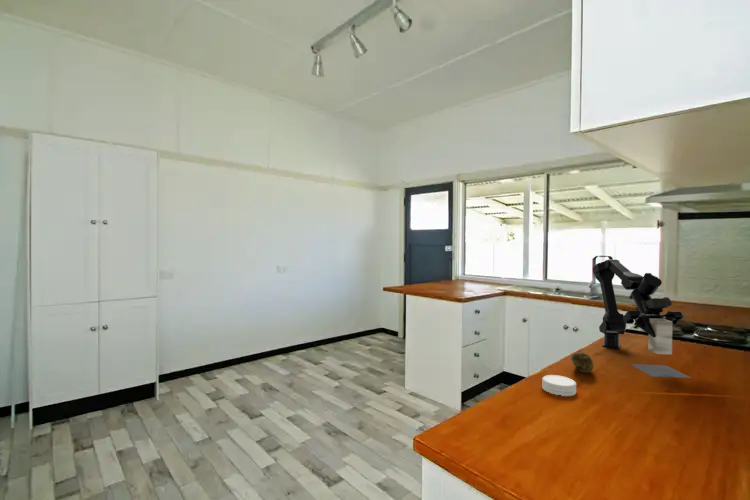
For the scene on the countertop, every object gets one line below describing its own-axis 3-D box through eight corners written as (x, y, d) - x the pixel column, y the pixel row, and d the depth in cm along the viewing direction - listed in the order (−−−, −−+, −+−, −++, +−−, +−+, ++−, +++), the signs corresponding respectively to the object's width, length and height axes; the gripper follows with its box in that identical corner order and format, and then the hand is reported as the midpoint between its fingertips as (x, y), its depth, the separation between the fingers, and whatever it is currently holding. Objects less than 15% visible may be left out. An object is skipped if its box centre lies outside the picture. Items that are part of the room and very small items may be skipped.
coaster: (580, 390, 118) (580, 380, 118) (570, 400, 111) (570, 388, 111) (548, 382, 125) (548, 372, 125) (537, 390, 118) (537, 379, 118)
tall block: (648, 349, 136) (648, 318, 136) (662, 350, 135) (663, 318, 135) (657, 353, 131) (657, 321, 131) (671, 354, 130) (672, 321, 130)
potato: (600, 370, 135) (600, 349, 135) (589, 379, 126) (589, 357, 126) (576, 365, 141) (576, 345, 141) (564, 373, 132) (564, 351, 132)
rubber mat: (630, 365, 141) (630, 364, 141) (666, 366, 139) (666, 365, 139) (651, 378, 128) (651, 376, 128) (691, 379, 126) (691, 378, 126)
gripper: (627, 289, 138) (645, 324, 127) (680, 290, 136) (703, 326, 125) (615, 306, 146) (631, 340, 135) (665, 307, 144) (685, 342, 133)
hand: (662, 337), depth 132 cm, fingers closed on tall block, 5 cm apart
